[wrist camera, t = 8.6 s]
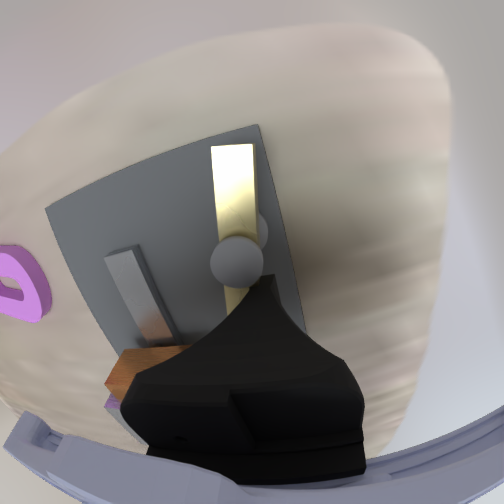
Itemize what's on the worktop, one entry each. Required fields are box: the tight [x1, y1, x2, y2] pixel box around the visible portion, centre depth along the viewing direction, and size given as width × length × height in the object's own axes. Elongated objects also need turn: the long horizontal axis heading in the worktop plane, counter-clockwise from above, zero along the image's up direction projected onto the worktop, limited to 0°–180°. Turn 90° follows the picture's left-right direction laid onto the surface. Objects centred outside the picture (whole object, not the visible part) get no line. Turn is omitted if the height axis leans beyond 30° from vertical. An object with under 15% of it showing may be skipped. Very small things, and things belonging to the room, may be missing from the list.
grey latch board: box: [45, 124, 307, 357], centre depth 12 cm, size 16×12×4 cm
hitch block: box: [104, 244, 185, 445], centre depth 13 cm, size 12×6×5 cm, turn 15°
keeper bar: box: [211, 143, 261, 316], centre depth 10 cm, size 9×1×2 cm, turn 3°
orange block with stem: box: [105, 344, 193, 399], centre depth 13 cm, size 7×5×3 cm
